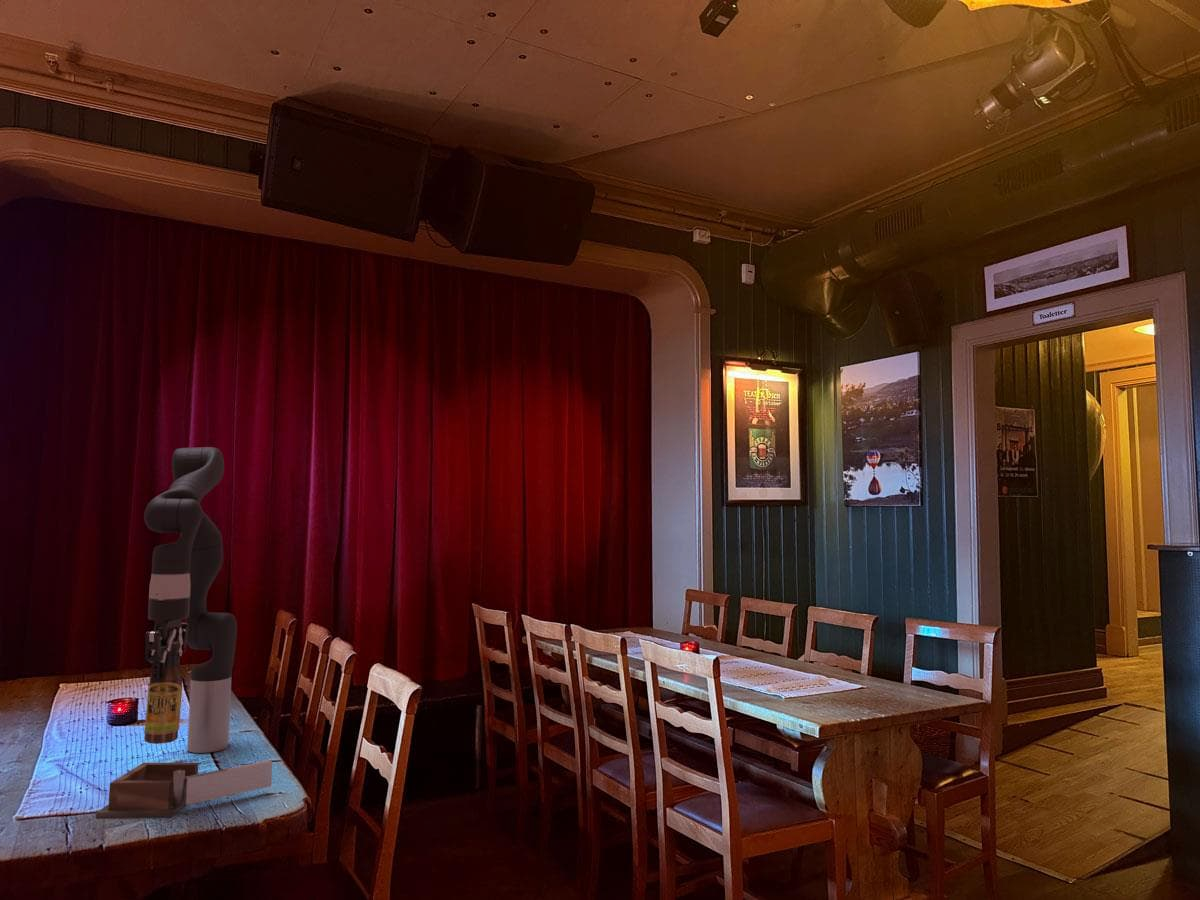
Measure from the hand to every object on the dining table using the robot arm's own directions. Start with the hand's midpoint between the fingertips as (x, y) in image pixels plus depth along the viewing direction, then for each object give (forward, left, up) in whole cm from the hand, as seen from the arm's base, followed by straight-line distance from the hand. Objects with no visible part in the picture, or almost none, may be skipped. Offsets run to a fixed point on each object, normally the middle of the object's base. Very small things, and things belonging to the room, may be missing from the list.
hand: (165, 677), depth 168 cm
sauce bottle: (0, 0, -13) cm, 13 cm away
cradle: (0, 0, -25) cm, 25 cm away
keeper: (0, +13, -23) cm, 27 cm away
